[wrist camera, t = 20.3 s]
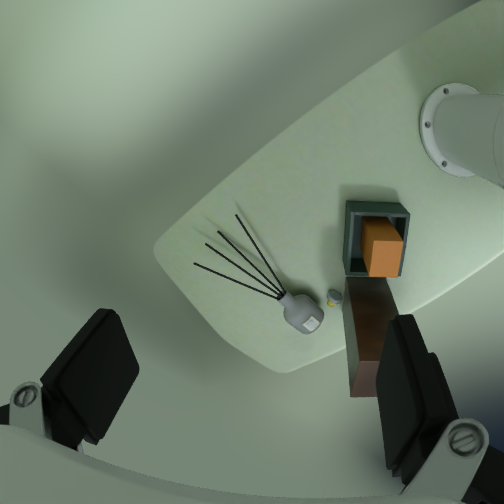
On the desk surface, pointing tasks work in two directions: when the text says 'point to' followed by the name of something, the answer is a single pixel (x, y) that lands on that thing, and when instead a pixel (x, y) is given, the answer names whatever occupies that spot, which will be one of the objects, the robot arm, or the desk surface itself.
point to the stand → (366, 330)
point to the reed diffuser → (286, 296)
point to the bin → (353, 231)
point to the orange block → (380, 246)
